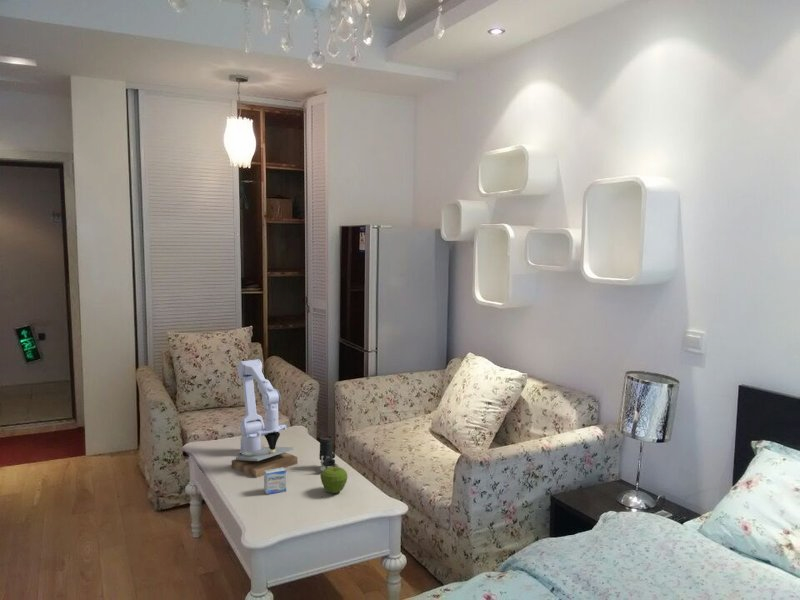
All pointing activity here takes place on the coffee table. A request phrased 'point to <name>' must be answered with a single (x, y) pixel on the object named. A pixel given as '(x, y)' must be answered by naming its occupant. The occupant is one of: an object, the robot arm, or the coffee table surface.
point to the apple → (334, 479)
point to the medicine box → (274, 480)
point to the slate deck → (263, 453)
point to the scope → (326, 453)
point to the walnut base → (264, 464)
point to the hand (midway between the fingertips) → (272, 449)
